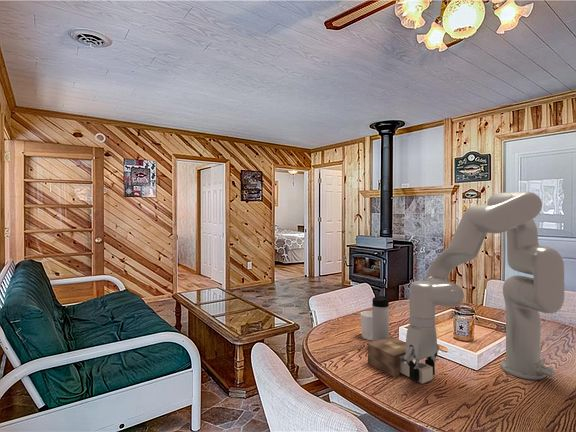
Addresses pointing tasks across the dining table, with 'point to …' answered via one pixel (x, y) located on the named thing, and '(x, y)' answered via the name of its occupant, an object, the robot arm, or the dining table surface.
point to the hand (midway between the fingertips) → (422, 376)
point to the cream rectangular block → (424, 370)
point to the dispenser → (387, 354)
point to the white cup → (366, 324)
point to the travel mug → (380, 318)
